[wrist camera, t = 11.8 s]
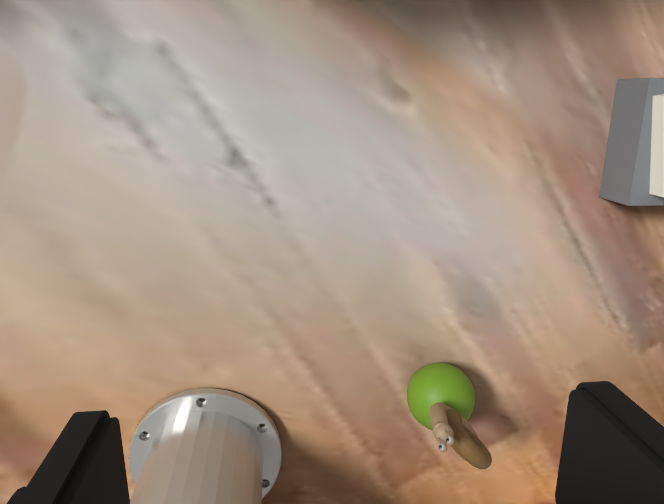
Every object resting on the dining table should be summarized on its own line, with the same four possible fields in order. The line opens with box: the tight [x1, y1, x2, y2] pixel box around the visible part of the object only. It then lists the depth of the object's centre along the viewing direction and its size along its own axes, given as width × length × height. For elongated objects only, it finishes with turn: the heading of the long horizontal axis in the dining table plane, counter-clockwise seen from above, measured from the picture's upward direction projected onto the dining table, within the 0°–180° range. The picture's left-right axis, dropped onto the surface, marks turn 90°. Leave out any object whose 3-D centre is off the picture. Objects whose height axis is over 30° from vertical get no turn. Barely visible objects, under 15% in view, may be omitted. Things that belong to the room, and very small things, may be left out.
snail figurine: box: [407, 363, 492, 469], centre depth 40 cm, size 5×6×12 cm
